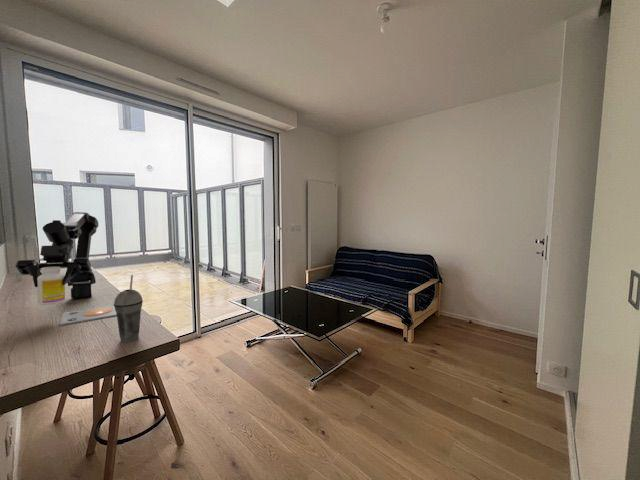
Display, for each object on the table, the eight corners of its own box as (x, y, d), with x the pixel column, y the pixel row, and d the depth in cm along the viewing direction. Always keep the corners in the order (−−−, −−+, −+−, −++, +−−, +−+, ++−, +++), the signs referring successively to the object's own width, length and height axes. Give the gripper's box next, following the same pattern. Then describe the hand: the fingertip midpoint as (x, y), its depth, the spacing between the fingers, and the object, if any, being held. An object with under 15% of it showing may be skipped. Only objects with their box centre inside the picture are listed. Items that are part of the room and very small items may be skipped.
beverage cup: (109, 341, 77) (107, 276, 76) (134, 332, 84) (132, 272, 83) (124, 346, 74) (122, 279, 73) (149, 336, 81) (147, 274, 80)
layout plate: (116, 305, 108) (116, 304, 108) (118, 315, 98) (118, 313, 98) (63, 314, 97) (63, 312, 97) (59, 326, 87) (59, 324, 87)
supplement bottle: (69, 301, 93) (69, 266, 92) (46, 307, 87) (45, 269, 86) (56, 299, 95) (55, 265, 94) (33, 304, 88) (31, 268, 87)
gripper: (16, 237, 88) (-1, 275, 79) (87, 236, 97) (79, 270, 88) (29, 256, 95) (14, 293, 86) (94, 254, 104) (87, 287, 96)
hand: (49, 285), depth 89 cm, fingers closed on supplement bottle, 7 cm apart
